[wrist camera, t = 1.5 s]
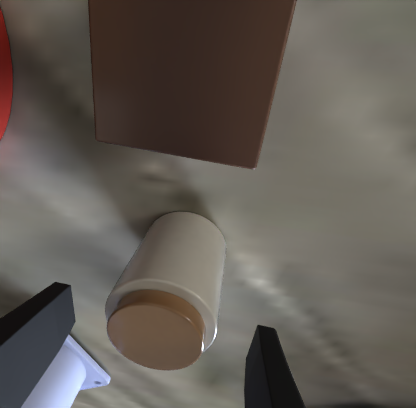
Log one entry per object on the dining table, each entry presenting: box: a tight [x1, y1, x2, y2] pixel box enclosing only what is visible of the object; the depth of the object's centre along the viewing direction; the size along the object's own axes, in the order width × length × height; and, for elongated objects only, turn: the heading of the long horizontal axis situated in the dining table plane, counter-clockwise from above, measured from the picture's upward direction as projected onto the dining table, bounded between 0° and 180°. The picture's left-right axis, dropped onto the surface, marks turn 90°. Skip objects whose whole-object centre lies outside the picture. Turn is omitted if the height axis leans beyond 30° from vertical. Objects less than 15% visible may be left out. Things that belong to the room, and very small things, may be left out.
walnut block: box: [88, 0, 297, 169], centre depth 8 cm, size 4×4×5 cm
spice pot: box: [105, 212, 226, 370], centre depth 12 cm, size 4×4×6 cm
